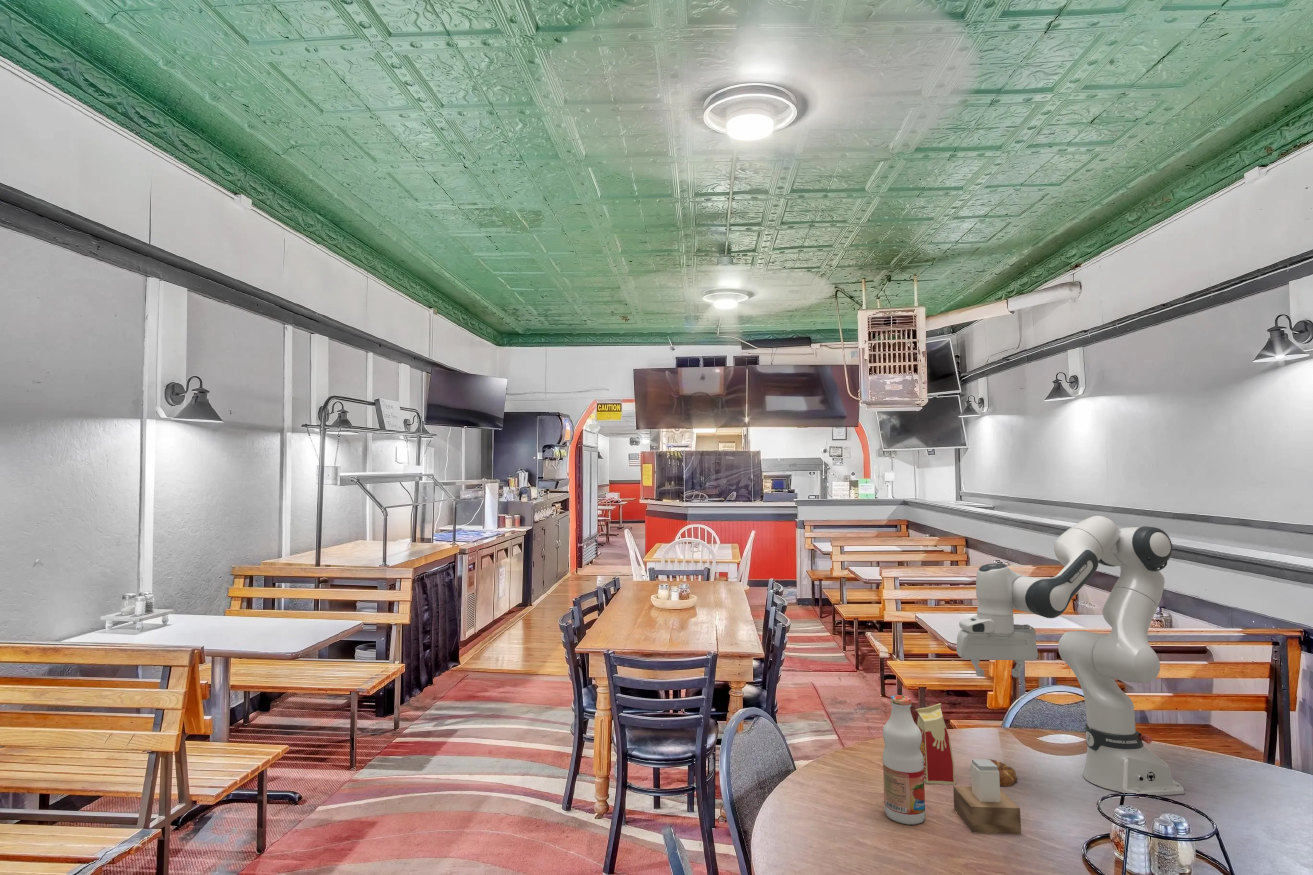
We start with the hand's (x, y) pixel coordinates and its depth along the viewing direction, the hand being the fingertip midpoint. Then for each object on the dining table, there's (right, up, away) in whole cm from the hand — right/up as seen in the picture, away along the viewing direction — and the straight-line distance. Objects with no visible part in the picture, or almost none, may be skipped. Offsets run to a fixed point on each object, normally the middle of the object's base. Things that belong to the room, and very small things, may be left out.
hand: (998, 676), depth 177 cm
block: (-13, -28, -20) cm, 37 cm away
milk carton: (-16, -30, +4) cm, 34 cm away
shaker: (-14, -22, -20) cm, 33 cm away
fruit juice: (-32, -28, -18) cm, 46 cm away
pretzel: (+2, -30, +4) cm, 30 cm away
